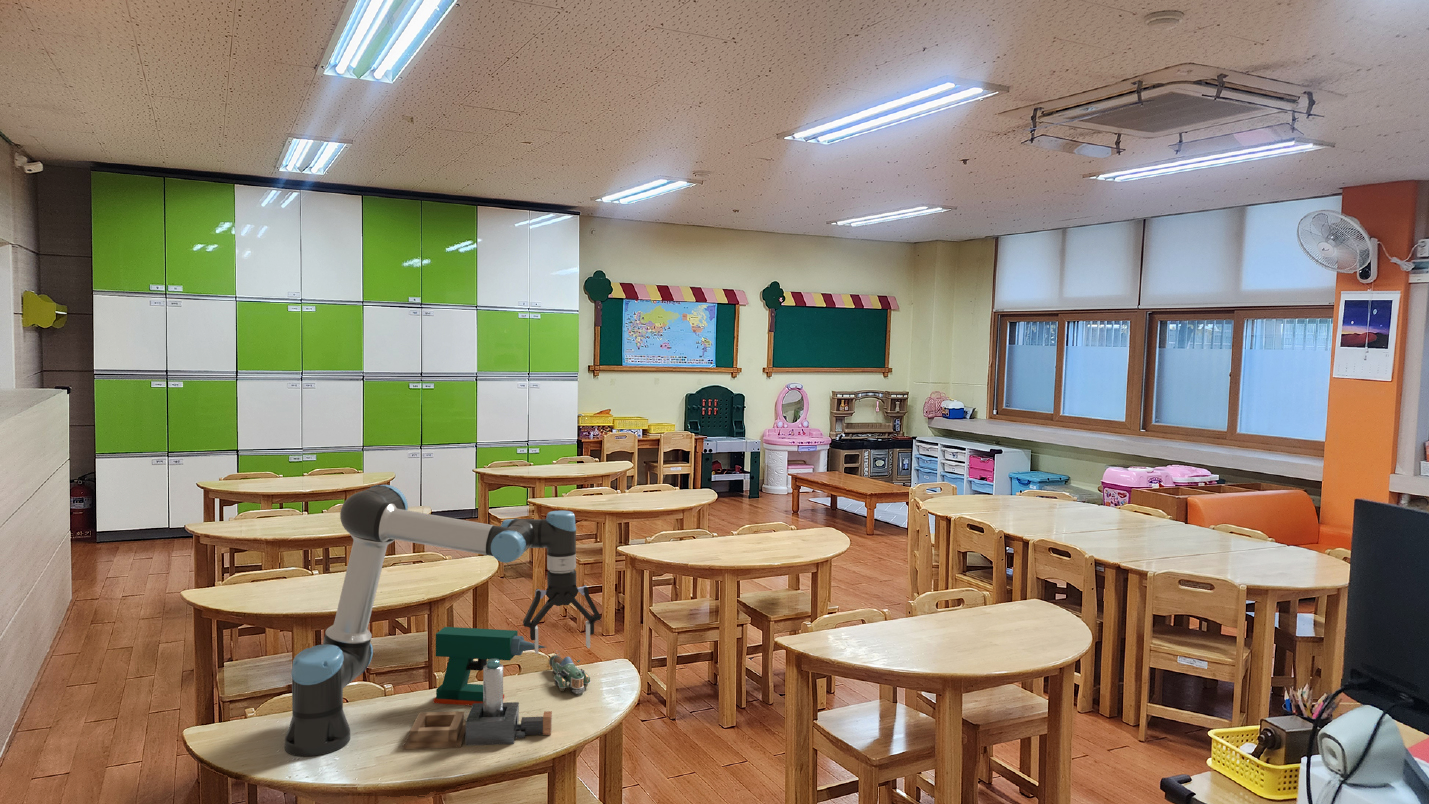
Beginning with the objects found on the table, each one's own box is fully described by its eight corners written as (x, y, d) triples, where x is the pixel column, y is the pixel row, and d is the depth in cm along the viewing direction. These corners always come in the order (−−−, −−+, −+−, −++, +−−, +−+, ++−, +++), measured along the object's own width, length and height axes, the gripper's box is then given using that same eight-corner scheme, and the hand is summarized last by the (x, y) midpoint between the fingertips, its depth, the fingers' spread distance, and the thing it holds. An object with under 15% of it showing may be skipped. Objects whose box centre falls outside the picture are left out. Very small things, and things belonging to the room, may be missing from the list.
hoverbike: (564, 699, 252) (564, 671, 252) (537, 671, 274) (537, 645, 273) (595, 693, 257) (595, 665, 256) (566, 666, 278) (566, 640, 278)
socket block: (465, 745, 221) (465, 722, 220) (472, 725, 233) (473, 703, 232) (523, 743, 222) (523, 720, 222) (527, 723, 234) (527, 701, 234)
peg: (481, 739, 225) (482, 664, 224) (484, 730, 230) (484, 657, 228) (501, 738, 225) (502, 664, 224) (503, 730, 230) (504, 657, 229)
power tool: (550, 700, 251) (551, 631, 250) (543, 709, 244) (544, 639, 243) (443, 693, 254) (444, 626, 253) (433, 703, 247) (433, 633, 246)
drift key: (520, 735, 226) (520, 717, 226) (522, 729, 230) (522, 712, 230) (550, 734, 227) (550, 716, 227) (551, 729, 231) (551, 711, 231)
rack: (403, 749, 218) (403, 733, 218) (415, 725, 232) (415, 710, 232) (460, 747, 220) (460, 731, 219) (469, 723, 233) (469, 709, 233)
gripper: (514, 577, 222) (515, 658, 224) (611, 569, 230) (611, 648, 231) (512, 570, 230) (513, 649, 231) (606, 563, 237) (606, 640, 238)
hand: (562, 649), depth 231 cm, fingers open, 13 cm apart
